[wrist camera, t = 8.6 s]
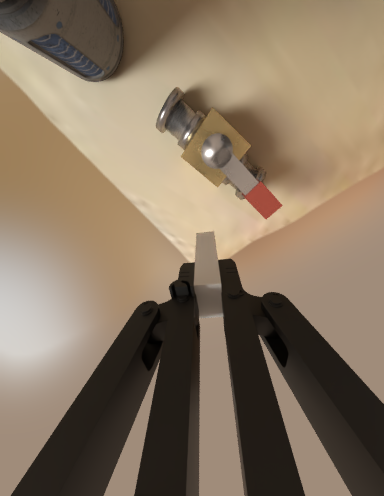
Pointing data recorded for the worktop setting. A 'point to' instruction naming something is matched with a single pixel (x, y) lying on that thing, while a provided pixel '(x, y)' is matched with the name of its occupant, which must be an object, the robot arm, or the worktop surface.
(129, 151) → the worktop surface
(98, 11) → the beverage bottle
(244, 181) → the lever
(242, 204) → the worktop surface
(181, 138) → the valve pipe
